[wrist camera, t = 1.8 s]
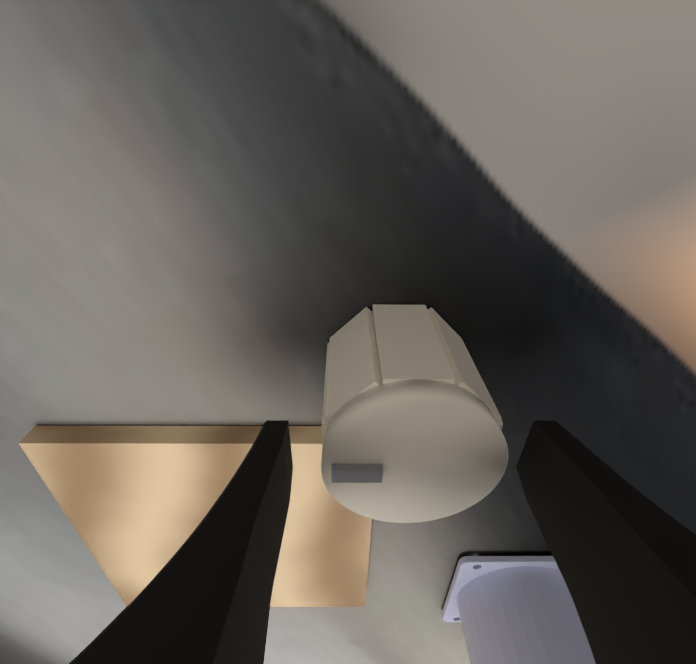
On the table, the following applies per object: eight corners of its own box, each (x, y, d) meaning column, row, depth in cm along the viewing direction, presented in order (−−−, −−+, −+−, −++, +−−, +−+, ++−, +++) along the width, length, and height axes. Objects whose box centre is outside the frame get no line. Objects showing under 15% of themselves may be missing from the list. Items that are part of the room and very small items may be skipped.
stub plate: (376, 426, 16) (378, 443, 16) (364, 588, 24) (365, 606, 23) (35, 425, 16) (18, 443, 15) (135, 589, 24) (127, 607, 23)
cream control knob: (471, 305, 13) (535, 406, 9) (448, 411, 16) (489, 530, 12) (326, 304, 13) (317, 406, 9) (328, 411, 16) (322, 530, 11)
